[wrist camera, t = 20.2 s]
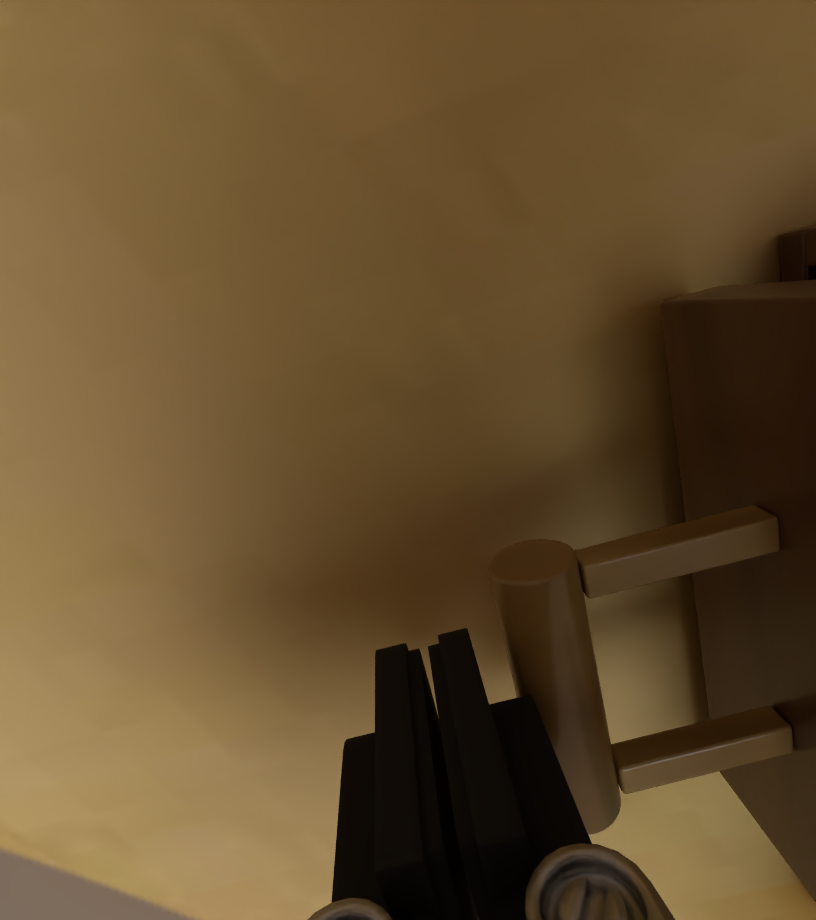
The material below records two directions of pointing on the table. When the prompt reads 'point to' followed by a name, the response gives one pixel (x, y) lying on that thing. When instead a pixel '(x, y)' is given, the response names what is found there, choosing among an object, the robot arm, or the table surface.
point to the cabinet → (798, 254)
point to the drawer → (702, 577)
